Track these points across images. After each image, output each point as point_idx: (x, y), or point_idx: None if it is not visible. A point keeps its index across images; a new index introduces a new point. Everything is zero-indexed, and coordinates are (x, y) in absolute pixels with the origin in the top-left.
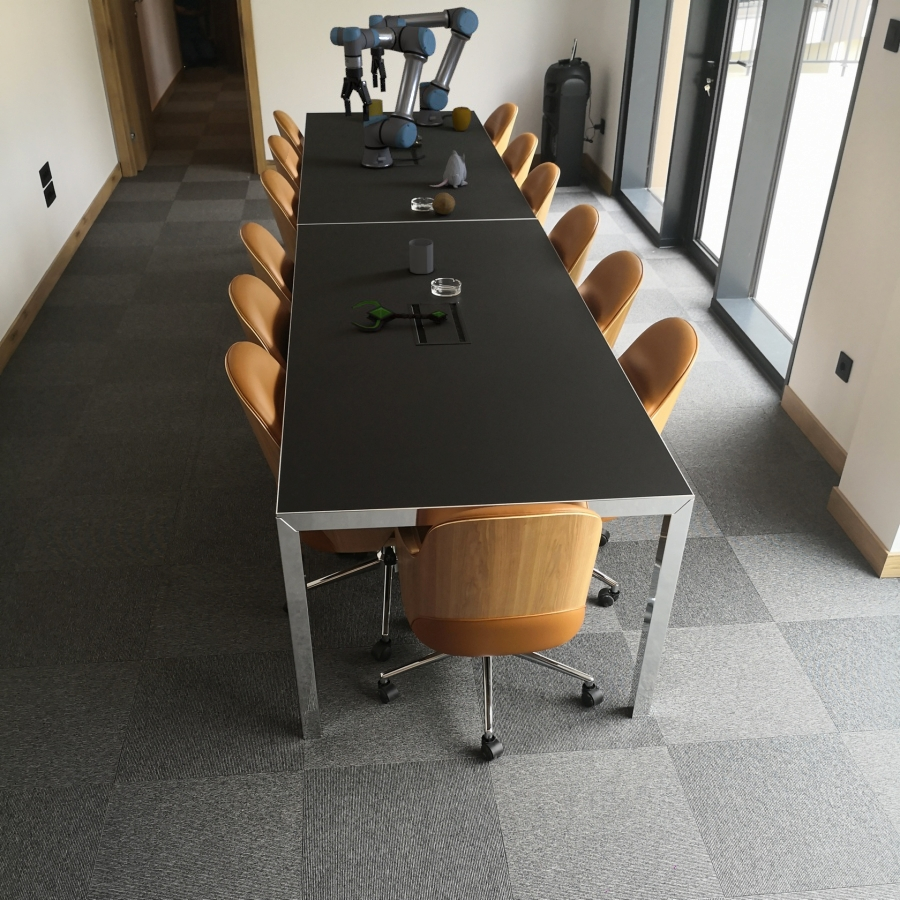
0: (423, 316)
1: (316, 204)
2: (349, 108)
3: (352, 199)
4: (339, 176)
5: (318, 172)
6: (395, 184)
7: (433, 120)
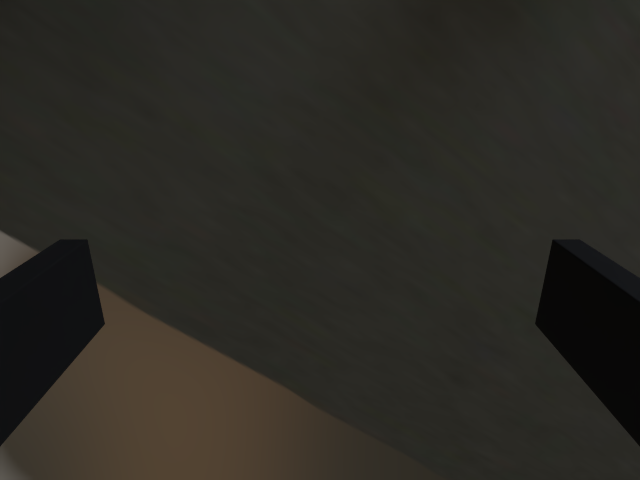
0: None
1: (435, 434)
2: (20, 323)
3: (489, 313)
4: (140, 150)
5: (15, 189)
6: (460, 5)
7: None
